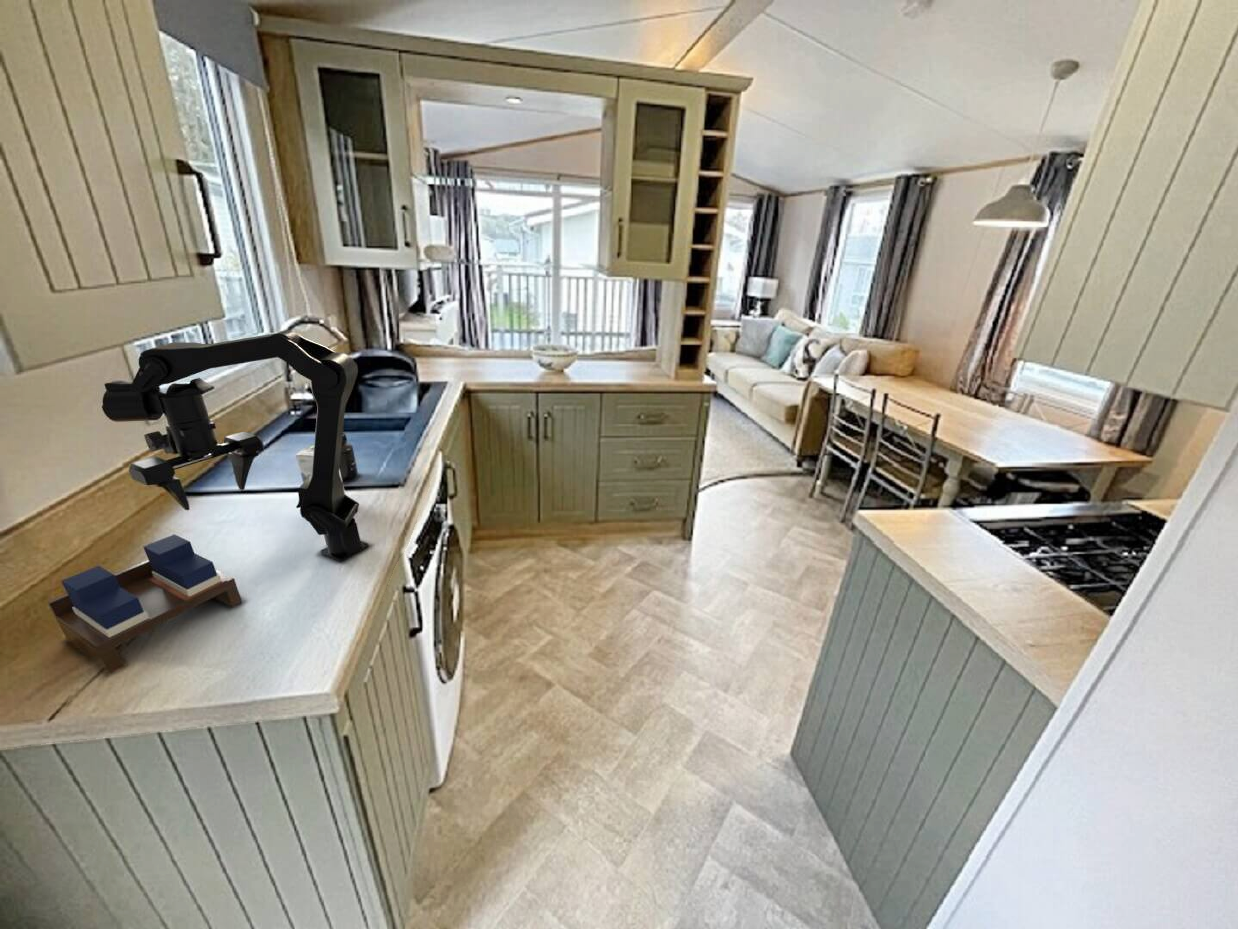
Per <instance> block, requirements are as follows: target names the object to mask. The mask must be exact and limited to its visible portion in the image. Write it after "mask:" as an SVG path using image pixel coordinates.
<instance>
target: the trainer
mask: <svg viewBox="0 0 1238 929" xmlns="http://www.w3.org/2000/svg"><path fill="white" fill-rule="evenodd" d="M142 547H143V550H144V552H145V555H146V557H147V560H149V562H150V564H151V567H152V569H153V571H152V574H153V576H154V578H156V579H158V580H160V581H161V582H163V583H165V584H167V585H169V586H170V587H172V588H174V589H176V590H178V591H179V592H181V593H183V594H185V595H187V596H188V597H190V596H192V595H194V594H196V593H198V592H200V591H202V590H204V589H206V588H208V587H210V586H212V585H215V584H217V583H219V582H221V581H222V580H221V577H220V575H218V574H217V573H216V570H217V569H216V567H215V565H214V562H213V561H212V560H210V559H207V558H205V557H203V556H201V555H199V554H197V553H195V551H194V548H193V546H192V543H191V541H190V540H188V539H185V538H183V537H181V536H179V535H176V534H174V533H173V534H172V535H169V536H166V537H164V538H161V539H159V540H156V541H154V542H151V543H148V544H146V545H143V546H142ZM215 569H216V570H215Z"/></svg>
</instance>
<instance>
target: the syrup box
mask: <svg viewBox="0 0 1238 929" xmlns="http://www.w3.org/2000/svg"><path fill="white" fill-rule="evenodd" d="M295 458H296V462H297V465H298V469H299V472H300V476H301V480H302V484H303V483H304V481H305V480H306V479H307V478H308V477H309V476H310V475H312V470H313V458H314V445H310V446H308V447H306V448H303V449H301V450H300V451H299V452H298V453H296V454H295ZM339 476H340V478H341V473H340V469H339ZM341 480H342V478H341ZM342 483H343V482H342ZM343 484H344V483H343ZM343 487H344V488H345V486H344V485H343ZM344 494H345V495H347V494H346V490H345V489H344Z"/></svg>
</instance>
